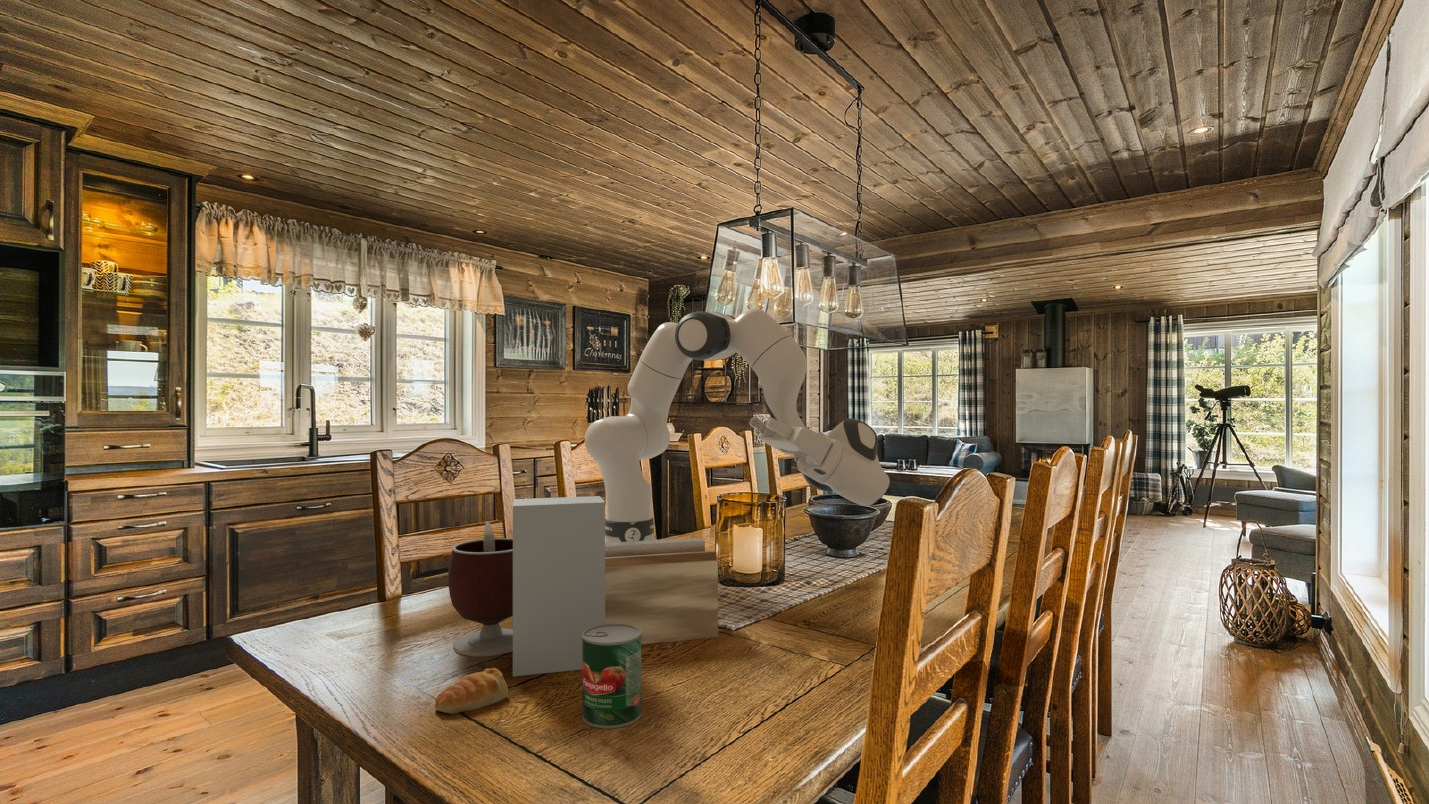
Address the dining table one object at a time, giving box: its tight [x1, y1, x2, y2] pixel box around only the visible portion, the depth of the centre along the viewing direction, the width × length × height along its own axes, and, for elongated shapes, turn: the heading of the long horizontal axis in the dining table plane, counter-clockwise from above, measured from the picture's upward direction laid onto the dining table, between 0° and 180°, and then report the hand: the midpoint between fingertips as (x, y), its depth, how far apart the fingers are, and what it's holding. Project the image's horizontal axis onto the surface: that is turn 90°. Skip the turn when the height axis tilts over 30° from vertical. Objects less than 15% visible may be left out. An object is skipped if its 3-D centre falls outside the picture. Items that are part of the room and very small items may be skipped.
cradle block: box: [605, 550, 719, 645], centre depth 123 cm, size 11×23×15 cm, turn 106°
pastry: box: [434, 667, 509, 715], centre depth 94 cm, size 9×7×4 cm
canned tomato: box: [581, 623, 643, 730], centre depth 90 cm, size 8×8×11 cm
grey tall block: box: [512, 495, 606, 677], centre depth 109 cm, size 8×14×26 cm, turn 106°
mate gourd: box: [447, 520, 513, 658], centre depth 118 cm, size 16×14×20 cm
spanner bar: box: [605, 537, 706, 557], centre depth 123 cm, size 3×20×3 cm, turn 106°
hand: (759, 420), depth 130 cm, fingers open, 8 cm apart
